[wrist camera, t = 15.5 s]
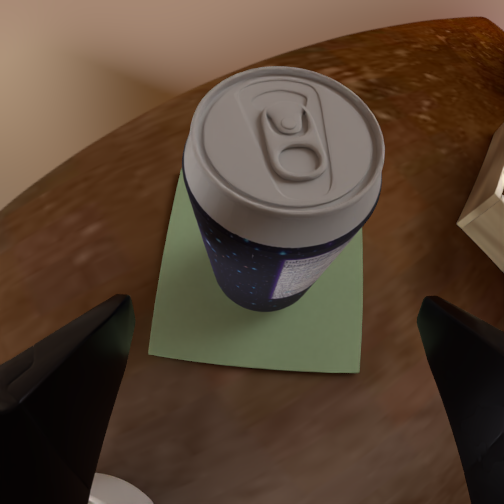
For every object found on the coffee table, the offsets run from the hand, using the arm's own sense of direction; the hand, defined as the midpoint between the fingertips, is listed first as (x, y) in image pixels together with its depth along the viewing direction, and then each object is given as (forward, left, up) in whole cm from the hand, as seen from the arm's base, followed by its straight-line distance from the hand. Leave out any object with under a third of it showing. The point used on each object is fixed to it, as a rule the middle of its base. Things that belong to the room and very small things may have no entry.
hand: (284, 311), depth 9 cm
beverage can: (+4, 0, -9) cm, 10 cm away
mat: (+4, 0, -9) cm, 10 cm away
